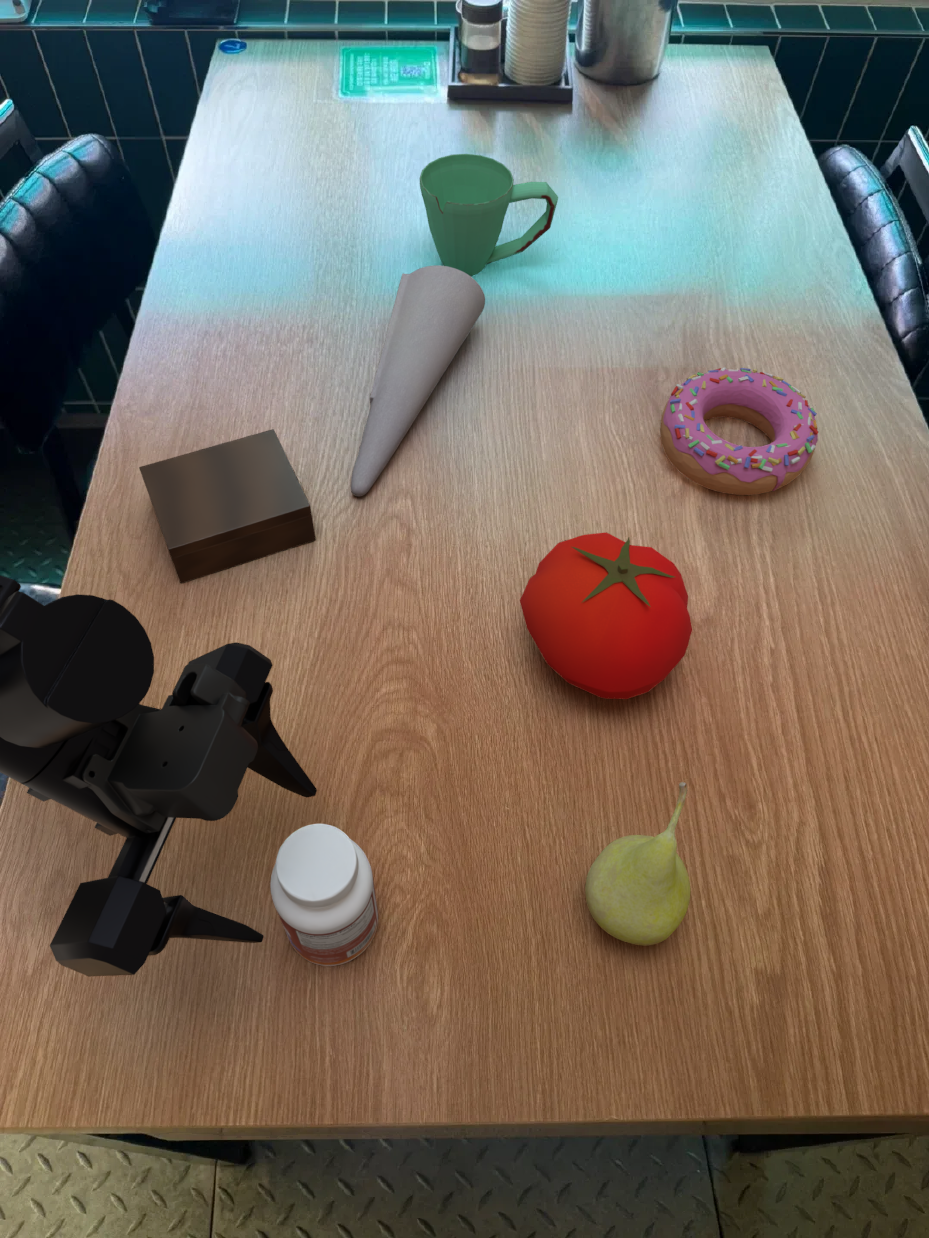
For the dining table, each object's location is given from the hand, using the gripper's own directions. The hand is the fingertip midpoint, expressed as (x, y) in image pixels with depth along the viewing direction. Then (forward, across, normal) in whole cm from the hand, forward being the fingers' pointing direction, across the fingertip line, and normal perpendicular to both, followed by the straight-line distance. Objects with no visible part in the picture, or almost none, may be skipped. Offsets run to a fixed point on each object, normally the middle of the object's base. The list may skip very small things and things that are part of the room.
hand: (287, 863), depth 56 cm
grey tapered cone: (+3, +50, +10) cm, 51 cm away
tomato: (+18, +26, -4) cm, 32 cm away
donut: (+24, +52, -11) cm, 58 cm away
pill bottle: (+8, 0, +5) cm, 10 cm away
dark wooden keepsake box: (-6, +32, +19) cm, 37 cm away
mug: (+3, +75, +10) cm, 76 cm away
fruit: (+22, +6, -8) cm, 24 cm away
